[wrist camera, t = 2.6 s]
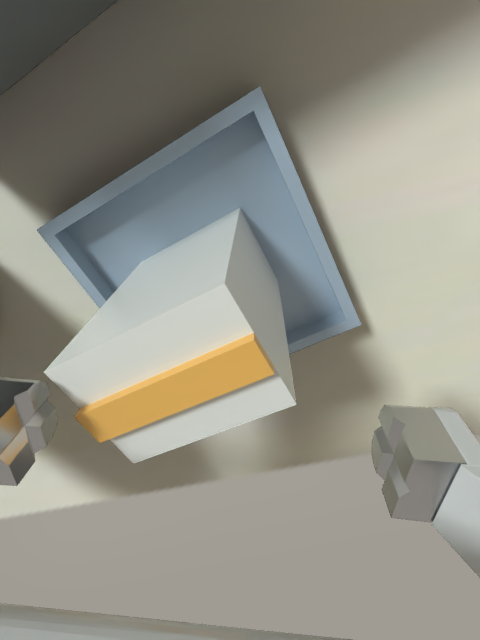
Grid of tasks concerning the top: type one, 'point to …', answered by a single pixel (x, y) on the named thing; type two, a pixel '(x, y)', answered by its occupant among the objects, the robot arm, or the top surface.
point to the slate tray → (211, 217)
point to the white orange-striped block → (182, 346)
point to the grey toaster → (39, 31)
